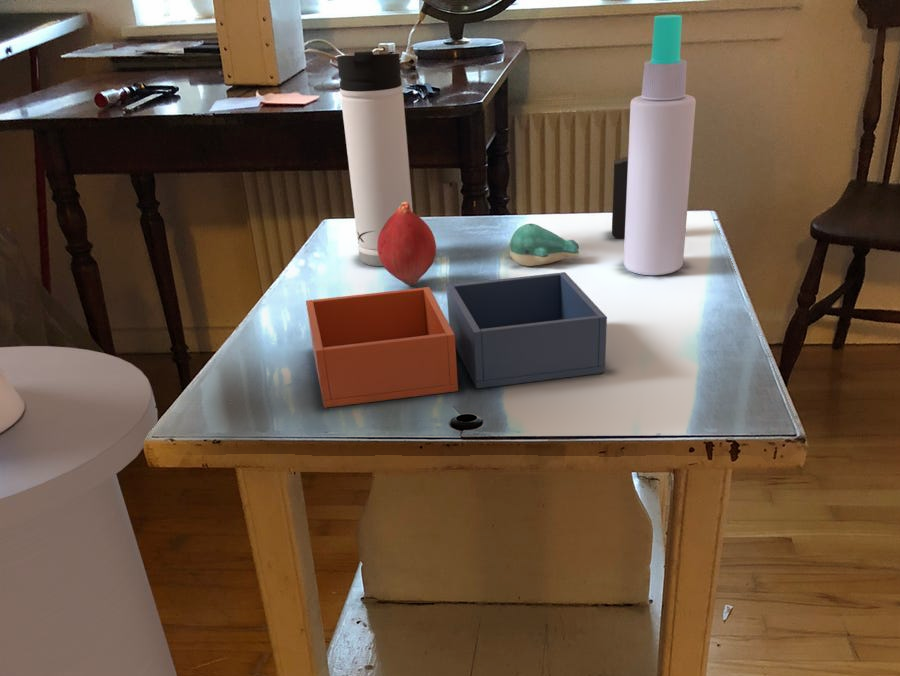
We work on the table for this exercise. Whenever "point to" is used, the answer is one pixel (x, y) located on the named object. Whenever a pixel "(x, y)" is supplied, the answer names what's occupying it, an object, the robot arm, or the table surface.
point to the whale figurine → (540, 246)
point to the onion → (406, 245)
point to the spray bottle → (659, 158)
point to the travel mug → (374, 143)
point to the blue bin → (526, 329)
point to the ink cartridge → (619, 197)
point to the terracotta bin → (381, 347)
